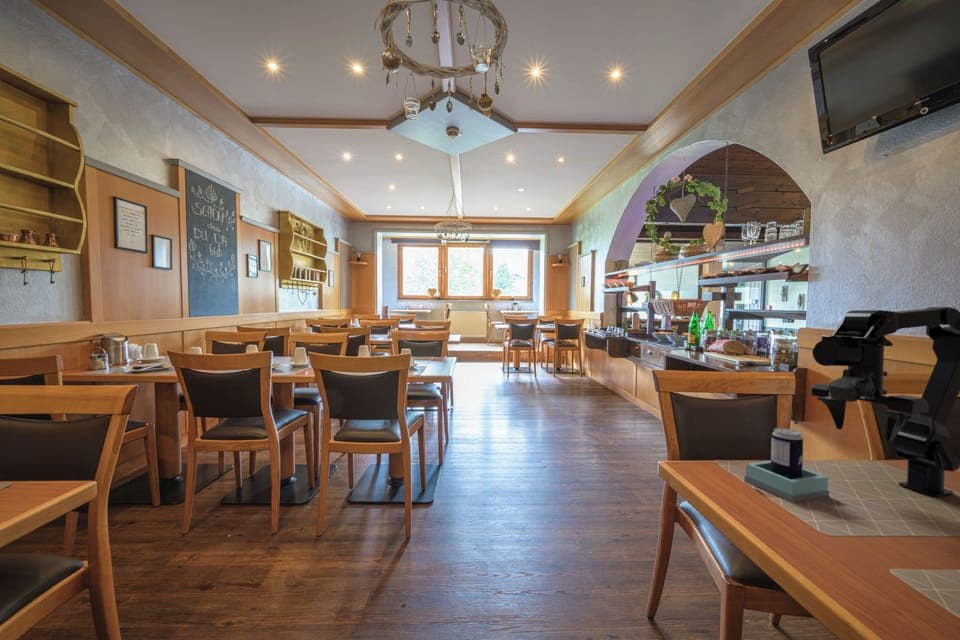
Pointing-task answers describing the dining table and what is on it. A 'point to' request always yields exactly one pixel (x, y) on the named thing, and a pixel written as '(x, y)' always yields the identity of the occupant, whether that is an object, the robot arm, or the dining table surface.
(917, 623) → the dining table surface
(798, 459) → the beverage can
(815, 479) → the can dock
